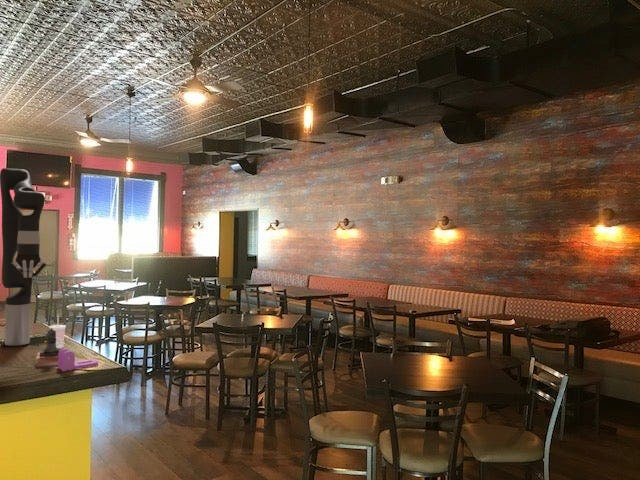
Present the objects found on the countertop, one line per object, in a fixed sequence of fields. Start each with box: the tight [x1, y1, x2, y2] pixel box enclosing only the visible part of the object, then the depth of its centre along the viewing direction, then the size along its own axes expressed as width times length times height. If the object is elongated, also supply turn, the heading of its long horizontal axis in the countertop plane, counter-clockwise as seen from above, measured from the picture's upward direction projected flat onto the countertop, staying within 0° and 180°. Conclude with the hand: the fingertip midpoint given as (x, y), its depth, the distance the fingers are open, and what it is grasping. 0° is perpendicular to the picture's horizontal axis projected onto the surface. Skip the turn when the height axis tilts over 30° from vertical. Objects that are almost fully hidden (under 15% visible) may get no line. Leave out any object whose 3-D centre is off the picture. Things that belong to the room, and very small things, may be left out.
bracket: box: [57, 347, 99, 372], centre depth 187 cm, size 13×6×7 cm, turn 135°
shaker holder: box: [35, 351, 58, 368], centre depth 192 cm, size 11×10×3 cm
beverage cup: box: [49, 313, 67, 349], centre depth 214 cm, size 6×6×14 cm
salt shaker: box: [41, 328, 61, 357], centre depth 192 cm, size 6×6×12 cm
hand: (27, 287), depth 199 cm, fingers closed
